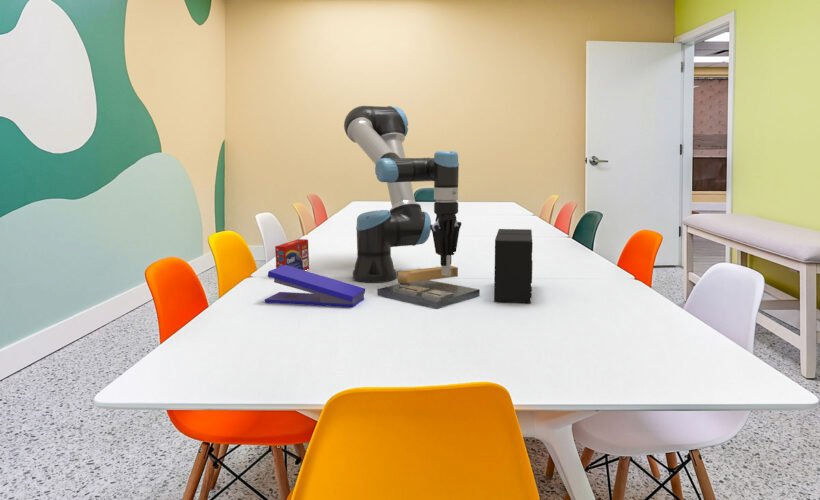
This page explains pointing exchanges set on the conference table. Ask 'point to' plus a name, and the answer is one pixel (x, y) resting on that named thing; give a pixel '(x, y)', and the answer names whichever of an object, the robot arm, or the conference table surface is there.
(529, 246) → the speaker
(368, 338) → the conference table surface
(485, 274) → the conference table surface
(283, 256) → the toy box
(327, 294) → the stapler
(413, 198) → the robot arm
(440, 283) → the server board
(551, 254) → the conference table surface
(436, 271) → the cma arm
